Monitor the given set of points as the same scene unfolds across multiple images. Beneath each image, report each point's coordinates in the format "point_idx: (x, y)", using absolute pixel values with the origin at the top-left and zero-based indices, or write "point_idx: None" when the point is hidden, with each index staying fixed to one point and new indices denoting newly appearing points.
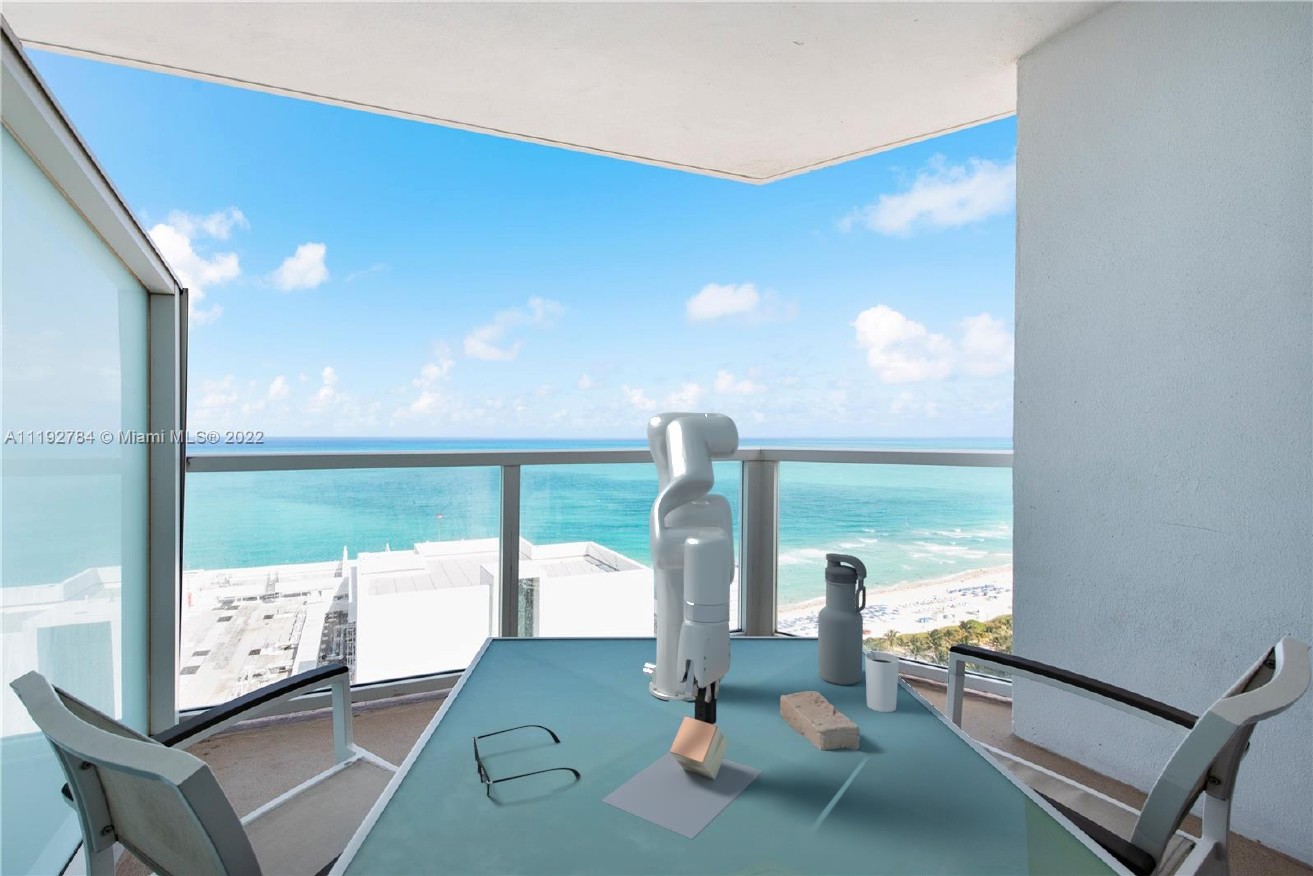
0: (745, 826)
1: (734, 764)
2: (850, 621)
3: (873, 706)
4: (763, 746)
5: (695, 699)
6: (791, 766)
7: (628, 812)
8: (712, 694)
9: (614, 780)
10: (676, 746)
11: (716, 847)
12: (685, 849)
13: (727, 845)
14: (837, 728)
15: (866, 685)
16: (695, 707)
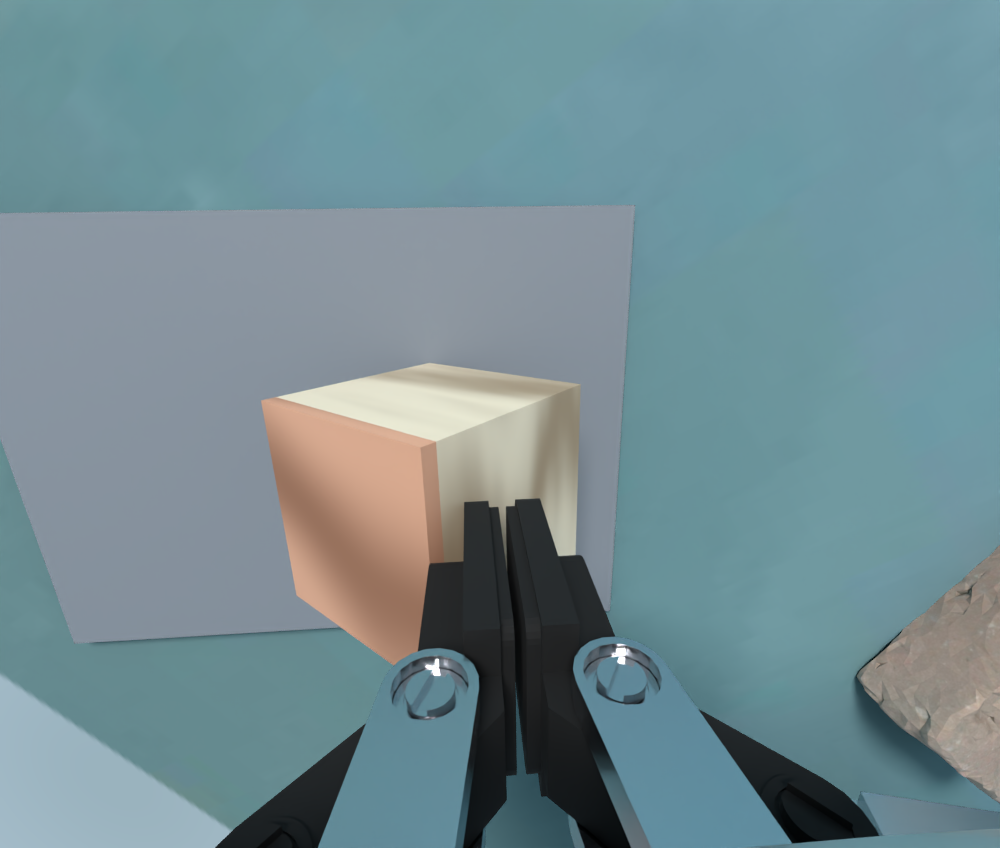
0: (292, 694)
1: (595, 512)
2: None
3: None
4: (818, 506)
5: (465, 622)
6: (715, 642)
7: None
8: (569, 812)
9: (137, 121)
10: (286, 436)
11: (137, 686)
12: (48, 631)
13: (172, 702)
14: (972, 778)
15: None
16: (465, 567)
